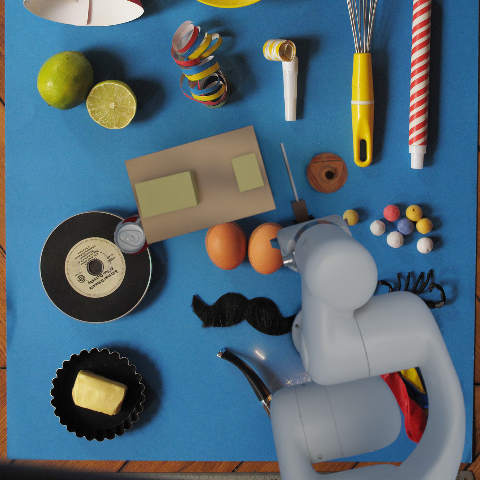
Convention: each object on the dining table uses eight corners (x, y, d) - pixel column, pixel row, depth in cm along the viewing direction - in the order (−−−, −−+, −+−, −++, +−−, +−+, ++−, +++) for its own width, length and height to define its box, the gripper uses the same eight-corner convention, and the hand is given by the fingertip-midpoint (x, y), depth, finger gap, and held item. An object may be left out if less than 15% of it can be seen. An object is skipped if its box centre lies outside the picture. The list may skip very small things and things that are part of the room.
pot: (354, 178, 84) (356, 184, 78) (319, 195, 86) (318, 203, 80) (335, 143, 84) (335, 147, 78) (301, 161, 86) (298, 166, 80)
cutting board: (269, 195, 85) (276, 209, 62) (175, 221, 86) (147, 244, 63) (252, 133, 85) (252, 124, 62) (158, 160, 86) (124, 160, 63)
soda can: (159, 246, 86) (144, 260, 74) (127, 239, 86) (107, 252, 74) (165, 213, 86) (152, 223, 74) (133, 207, 86) (114, 215, 74)
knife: (316, 247, 72) (319, 251, 69) (303, 250, 72) (306, 255, 69) (286, 141, 72) (288, 141, 69) (274, 145, 72) (275, 145, 69)
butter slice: (240, 191, 62) (263, 184, 62) (240, 192, 60) (264, 185, 60) (231, 158, 62) (254, 152, 62) (230, 158, 60) (254, 152, 60)
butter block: (200, 202, 62) (197, 205, 59) (148, 214, 63) (142, 218, 59) (192, 170, 62) (189, 170, 59) (141, 182, 63) (134, 183, 59)
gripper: (269, 295, 53) (264, 259, 72) (391, 262, 53) (354, 234, 71) (253, 238, 53) (252, 217, 72) (375, 205, 53) (343, 192, 71)
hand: (303, 225), depth 71 cm, fingers closed on knife, 2 cm apart
